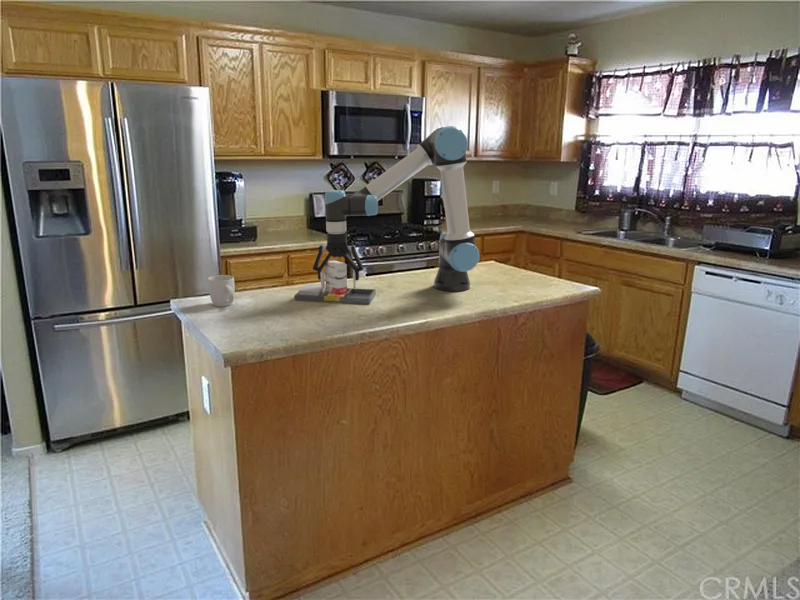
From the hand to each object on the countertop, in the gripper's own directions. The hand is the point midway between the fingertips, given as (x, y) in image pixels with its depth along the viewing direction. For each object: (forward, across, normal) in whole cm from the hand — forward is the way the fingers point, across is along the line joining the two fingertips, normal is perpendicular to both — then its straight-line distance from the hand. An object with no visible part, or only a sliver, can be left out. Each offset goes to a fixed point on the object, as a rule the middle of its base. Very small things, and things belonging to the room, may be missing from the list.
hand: (339, 288), depth 212 cm
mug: (+3, +38, +18) cm, 42 cm away
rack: (+4, +1, 0) cm, 4 cm away
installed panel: (+3, +11, 0) cm, 11 cm away
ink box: (+2, +1, 0) cm, 2 cm away
